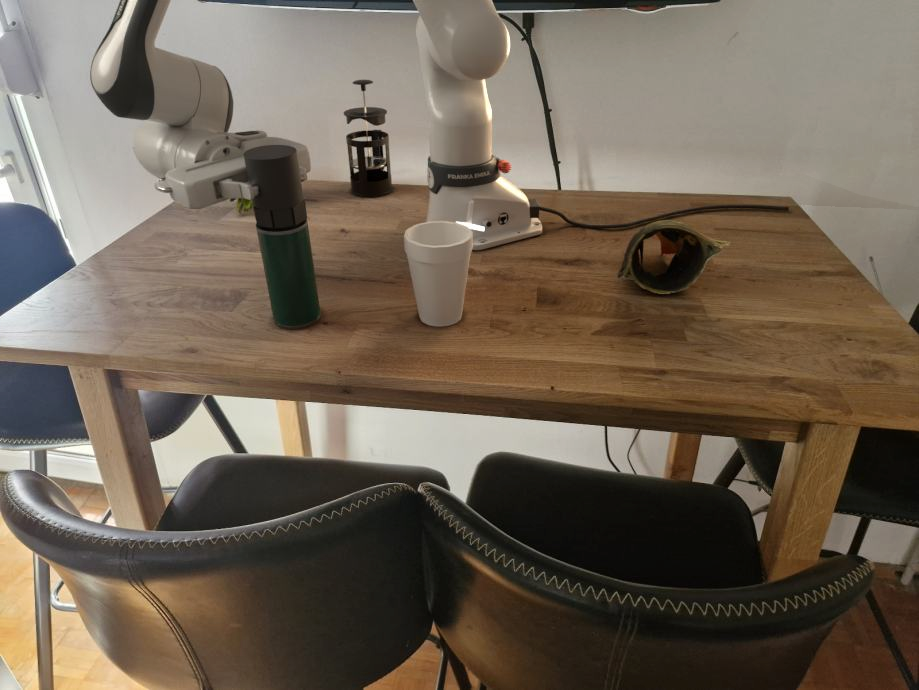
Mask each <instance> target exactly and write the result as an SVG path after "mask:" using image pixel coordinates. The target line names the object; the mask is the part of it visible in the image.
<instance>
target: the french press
mask: <svg viewBox="0 0 919 690" xmlns="http://www.w3.org/2000/svg"><path fill="white" fill-rule="evenodd" d="M352 84H353V85H357V86H360V90H361V92H362V99H363V106H362V107H354V108H349V109H346V110H344V111H343V116H345V118H346V124H347V125H349V124H351V122H353V121H355V120H359V119H361V120H364V121H365V130H358V131H353V132H350V133H348V134H346V135H345V140H346V145H347V154H348V165H349V173H350V175H349V179H350V189H349V190H350V194H352V195H353V196H356V197H359V198H367V199H368V198H381V197H384V196H387V195H389V194H391V193H392V192H393V191H394V186H393V183H392V182H393V181H392V171H391V158H390V157H391V156H390V137H389V136H390V135H389V133H388V132H385V131H383V130H382V129H369V128H368V123H369V124H370V125H372V126H377V127H378V126H381V125H384V124H385V123H386V115H387V113H388V111H387V109H385V108H382V107H376V106H367V105H366V104H367V103H366V94H365V93H366V92H365V91H367V90H366V89H367V85H371V84H374V81H373V80H371V79H357V80H354V81H352ZM358 138H366V140H356V139H358ZM369 138H371V140H369ZM354 139H355V140H354ZM384 146H385V157H384ZM353 148H356V158H353ZM366 148H367V156H366V151H365V149H366ZM370 148H371V151H372V155H371V154H370V153H371V152H370ZM385 168H386V170H385ZM355 170H357V171H356V172H355Z"/></svg>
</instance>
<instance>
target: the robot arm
mask: <svg viewBox="0 0 919 690" xmlns="http://www.w3.org/2000/svg"><path fill="white" fill-rule="evenodd" d="M171 1H172V0H119V3H118V5H117V7H116V11H115V12H114V16H113V18H112V20H111V23H110V26H109V27H108V29H107V31H106V33H105V35H104V37H103V38H102V40H101V41H100V43H99V45H98V47H97V49H96V50H95V52H94V55H93V58H92V61H91V65H90V69H89V70H90V71H89V78H90V85H91V88H92V89H93V91H94V93H95V95H96V96H97V98H98V100H100V102H101V103H102V104H103V105H104V107H105V108H106V109H107V110H108V111H109V112H110V113H112V115H113V116H116V117H117V118H122V119H130V120H137V121H138V120H139V121H146V122H145V123H144V124H142V125H141V126H139V127H138V128H137V129H136V131H135V132H134V134H133V137H132V150H133V154H134V156H135V158H136V160H137V161H138V163H139V164H140V165H141V167H142V168H143V169H144V170H145V171H146V172H148V173H149V174H151V175H152V176H154V177H155V178H158V179H159V180H158V182H154V188H155V190H156V191H158V192H160V193H164V194H169V197H170V199H171V200H172V201H174V203H177V204H178V205H180V206H182V207H184V208H186V209H188V210H201V209H204V208H207V207H210V206H213V205H217V204H218V203H222V202H226V201H228V200H230V199H232V198H237V199H238V198H245V199H248V200H251V199H254V198H256V197H259V196H260V192H259V186H258V184H257V183H253V182H250V181H248V176H247V171H246V165H245V160H244V152H245V151H247V150H249V149H252V148H255V147H260V146H266V145H287V146H292V147H294V148H296V150H297V156H298V163H299V170H300V177H301V183H303V182H306V181H307V180H308V173H310V172H311V169H312V161H311V156H310V152H309V148H308V147H307V146H306V145H305V144H303V143H300V142H297V141H293V140H290V139H288V138H287V139H286V138H282V137H278V136H268V134H267V132H266V131H264V130H259V129H258V130H257V129H256V130H247V131H246V130H245V131H237V132H229V130H230V127H231V124H232V120H233V115H234V96H233V92H232V89H231V85H230V83H229V81H228V79H227V77H226V75H225V74H224V72H223V71H222V70H221V69H220V68H219V67H217V66H215V65H212V64H209V63H206V62H203V61H200V60H198V59H194V58H191V57H188V56H184V55H180V54H177V53H174V52H171V51H169V50H165V49H162V48H158V47H156V45H155V43H156V39H157V37H158V34H159V31H160V29H161V26H162V24H163V22H164V18H165V16H166V13H167V11H168V8H169V5H170V3H171ZM412 2H413V4H414V6H415V8H416V11H417V12H418V14H419V16H418V18H417V21H416V24H415V36H416V41H417V45H418V51H419V60H420V67H421V76H422V82H423V83H422V84H423V88H424V94H425V99H426V105H427V106H426V107H427V115H428V140H429V141H428V142H429V156H428V157H427V168H426V171H427V174H426V175H427V184H428V185H427V186H428V189H429V200H428V209H427V215H426V219H425V222H430V221H448V222H457V223H459V224H462V225H465V226H468V228H469V229H470V230H471V231H472V232H473V248H472V251H481V250H486V249H490V248H494V247H498V246H501V245H505V244H508V243H512V242H516V241H520V240H523V239H527V238H531V237H536V236H538V235H541V234H543V224H542V222H541V220H540V219H539V218H540V211H542V212H546V213H550V214H554V215H556V216H559V217H560V218H561V219H562V220H563V221H564V222H566V223H567V224H569V225H572V226H575V227H579V228H586V229H596V230H597V229H598V230H601V229H603V230H604V229H622V228H628V227H632V226H636V225H639V224H644V223H647V222H652V221H655V220H659V219H664V218H667V217H672V216H676V215H681V214H685V213H691V212H699V211H705V210H706V211H707V210H717V209H719V210H720V209H753V210H755V209H757V210H773V211H785V212H787V211H789V210H790V207H789V206H778V205H761V204H712V205H703V206H695V207H690V208H684V209H679V210H673V211H669V212H666V213H665V212H664V213H661V214H658V215H654V216H650V217H649V216H648V217H645V218H641V219H637V220H634V221H629V222H625V223H616V224H615V223H614V224H613V223H612V224H589V223H581V222H577V221H574V220H572V219H569V218H568V217H567V215H565V214H564V213H562V212H560V211H559V210H556V209H553V208H549V207H543V206H540V204H539V203H538V201H537V200H536V198H528V197H527V195H526V194H525V193H524V192H523V191H522V190H521V189H519V187H518V186H516V185H514V184H513V183H512V182H510V181H509V180H508V179H506V177H504V176H502V175H501V173H502V174H508V173H510V171H511V170H512V164H511V163H510V162H508V161H507V160H505V159H500V157H497V156H496V155H494V154H493V109H492V105H491V103H490V99H489V95H488V90H487V85H486V80H487V79H490V78H493V77H494V76H495V75H496V74H498V73H499V72H500V71H501V70H502V69H503V68H504V66H505V64H506V62H507V60H508V58H509V55H510V49H511V38H510V33H509V30H508V27H507V26H506V24H505V22H504V21H503V20H502V18H501V17H500V14H499V13H498V11H497V9H496V7H495V5H494V2H493V0H412Z"/></svg>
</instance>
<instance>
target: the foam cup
mask: <svg viewBox="0 0 919 690" xmlns="http://www.w3.org/2000/svg"><path fill="white" fill-rule="evenodd" d="M403 241H404V242H403V246H404V252H405V254H406V257H407V263H408V267H409V273H410V277H411V282H412V287H413V293H414V299H415V302H416V303H415V304H416V308H417V313H418V318H419V319H420V321H421V322H422V323H424V324H426V325H428V326H430V327H431V326H432V327H439V328H441V327H450V326H451V325H454V324H457V323H458V322H460V321H461V320H462V317H463V310H464V309H463V308H464V303H465V297H466V289H467V282H468V273H469V267H470V259H471V254H472V253H473V250H472V248H473V232H472V231H471V230H470V229H469V228H468V226H465V225H462V224H459V223H457V222H448V221H430V222H426V221H425V222H421V223H415V224H414V225H412V226H410V227H408V228H407V229H405V233H404V234H403Z"/></svg>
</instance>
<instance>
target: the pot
mask: <svg viewBox="0 0 919 690" xmlns="http://www.w3.org/2000/svg"><path fill="white" fill-rule="evenodd" d="M654 236H656V237H657V238H658V240H659V242H660V257H663V255H673V257H672V258H671V261H670V263H669V265H668V267H667V269H666V271H664V272H661V273H658V274H654V273H652V272H651V271H649V270H647V269H646V268H644V267H643V261H644V245H645V244H644V243H645V240H647V239H650V238H652V237H654ZM733 244H734V242H733V241H730V240H717V239H713V238H711V237H709V236H706V235H704V234H702V233H700V232H698V231H697V230H695V229H694V228H693V227H691V226H690V225H688V224H686V223H684V222H681V221H679V222H678V221H674V220H672V219H662V220H658V221H653V222H651V223H648V224H646V225H644V226H642V227H641V228H640V229H639V230H638V231H637V232H635V233H634V235H633V236H632V237H631V239H630V240H629V242H628V244H627V248H626V249H625V253H624V255H623V256H624V257H623V260H622V263H621V266H620V269H619V271H618V272H617V275H616V279H622V278H624V279H626V280H629V281H630V280H632V281H634V283H636V284H638V285H639V286H640V288H642V289H643V290H647V291H649V292H651V293H655V294H656V293H657V294H658V295H659V294H661V295H662V294H663V295H664V294H665V295H667V294H668V295H669V294H671V293H674V294H675V293H679V292H681V291H685V290H686V289H689V288H690V286H691V285H693V284H694V283H695V282H696V281H697V279H698V278H700V276H702V273H703V271H704V269H706V264H707V262H708V261H709V260H710V259H711V258H712V257H714V256H716V255H719V254H721V253H722V252H723V250H722V248H723V247H729V246H732V245H733Z"/></svg>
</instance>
